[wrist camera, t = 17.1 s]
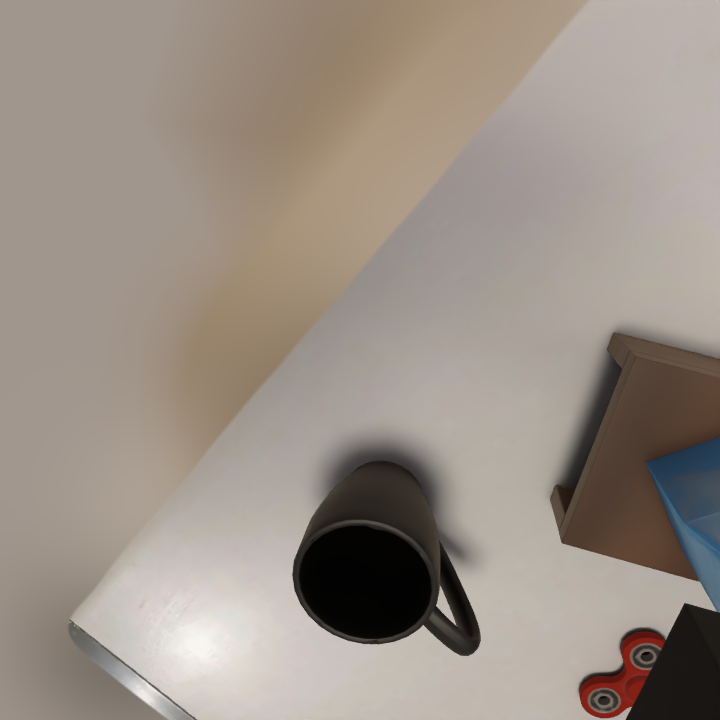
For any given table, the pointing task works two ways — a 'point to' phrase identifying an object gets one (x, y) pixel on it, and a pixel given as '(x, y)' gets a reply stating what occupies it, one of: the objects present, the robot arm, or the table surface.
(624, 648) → the fidget spinner
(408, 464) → the table surface
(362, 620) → the mug
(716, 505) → the perfume bottle
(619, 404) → the shelf
